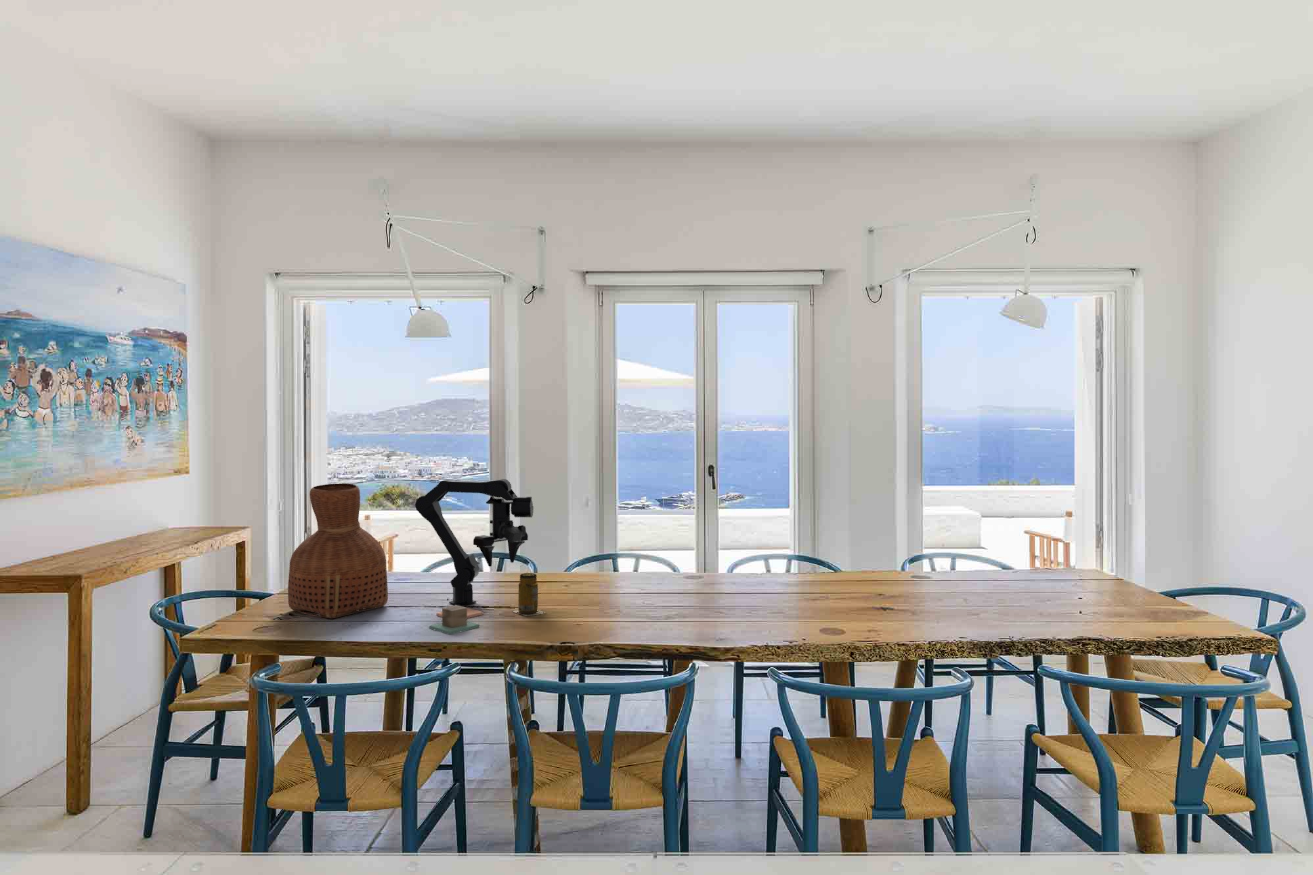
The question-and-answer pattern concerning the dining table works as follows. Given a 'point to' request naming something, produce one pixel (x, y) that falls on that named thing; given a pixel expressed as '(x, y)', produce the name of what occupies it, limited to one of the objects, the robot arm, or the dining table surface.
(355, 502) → the basket
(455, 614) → the brown cube
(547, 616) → the dining table surface
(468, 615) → the mat terracotta
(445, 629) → the mat green
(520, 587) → the condiment
